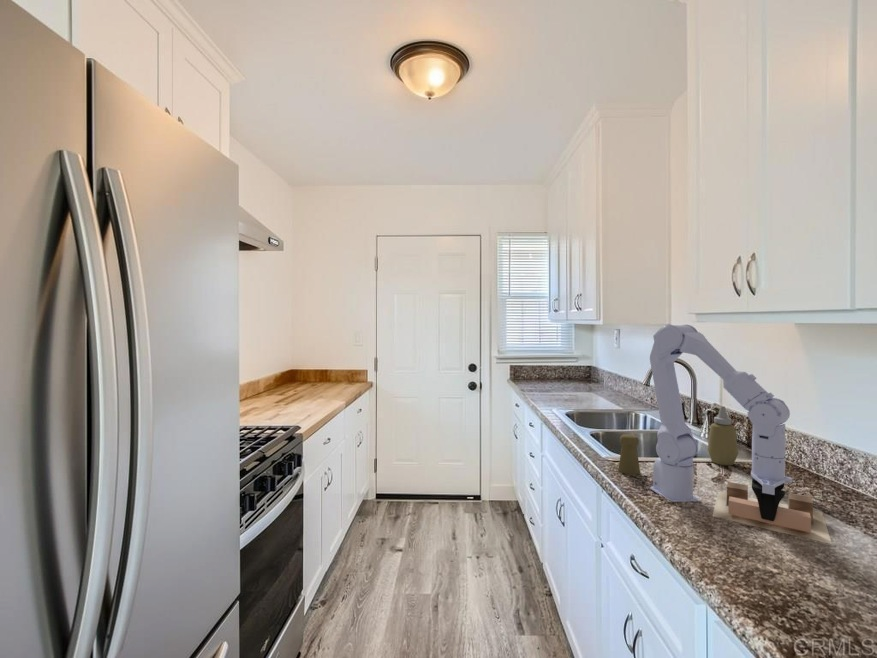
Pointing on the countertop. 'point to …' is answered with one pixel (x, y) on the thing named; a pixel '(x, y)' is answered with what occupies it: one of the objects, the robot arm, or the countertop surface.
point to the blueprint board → (794, 502)
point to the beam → (782, 518)
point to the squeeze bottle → (722, 440)
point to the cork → (629, 455)
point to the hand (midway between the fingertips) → (767, 516)
